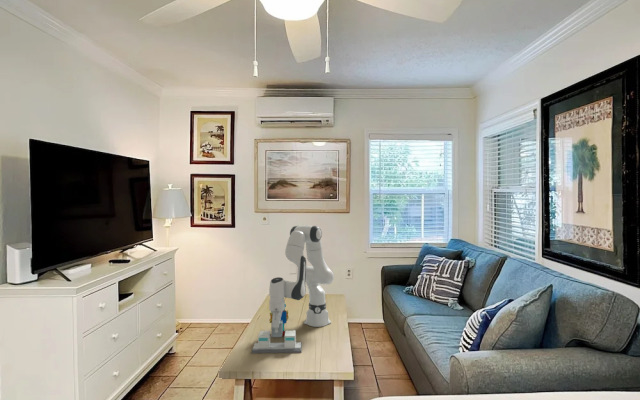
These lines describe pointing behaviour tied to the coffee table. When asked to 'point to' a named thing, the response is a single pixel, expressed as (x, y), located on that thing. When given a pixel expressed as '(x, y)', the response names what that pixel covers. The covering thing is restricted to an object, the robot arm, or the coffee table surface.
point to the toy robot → (283, 317)
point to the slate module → (280, 330)
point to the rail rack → (268, 347)
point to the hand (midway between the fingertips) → (277, 330)
